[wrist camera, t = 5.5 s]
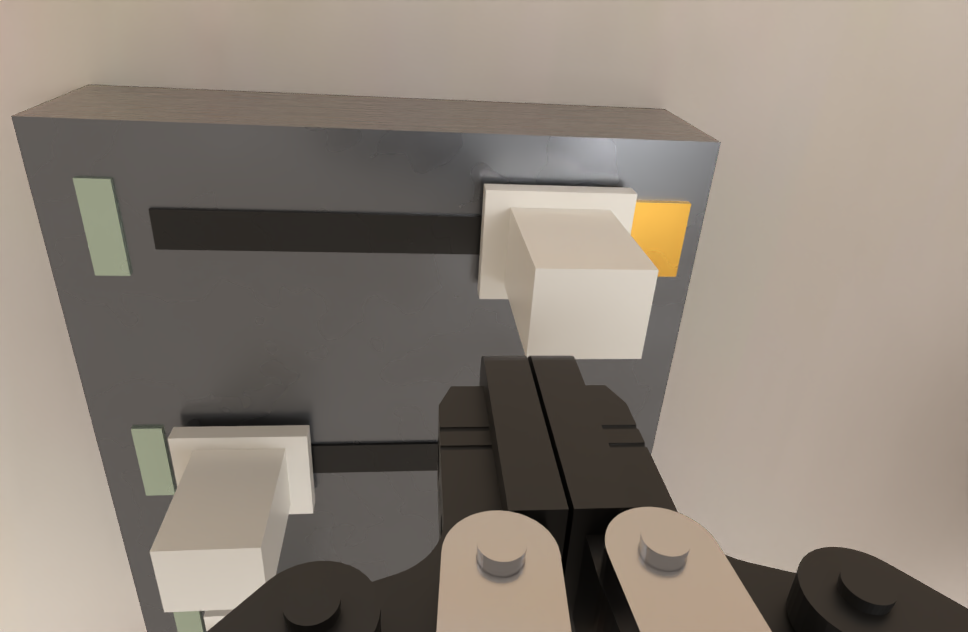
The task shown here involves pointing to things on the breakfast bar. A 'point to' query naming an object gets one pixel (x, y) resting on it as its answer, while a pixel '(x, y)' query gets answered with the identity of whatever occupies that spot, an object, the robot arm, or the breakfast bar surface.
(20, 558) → the breakfast bar surface
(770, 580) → the robot arm
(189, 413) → the breaker panel
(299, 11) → the breakfast bar surface
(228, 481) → the breaker middle
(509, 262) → the block
